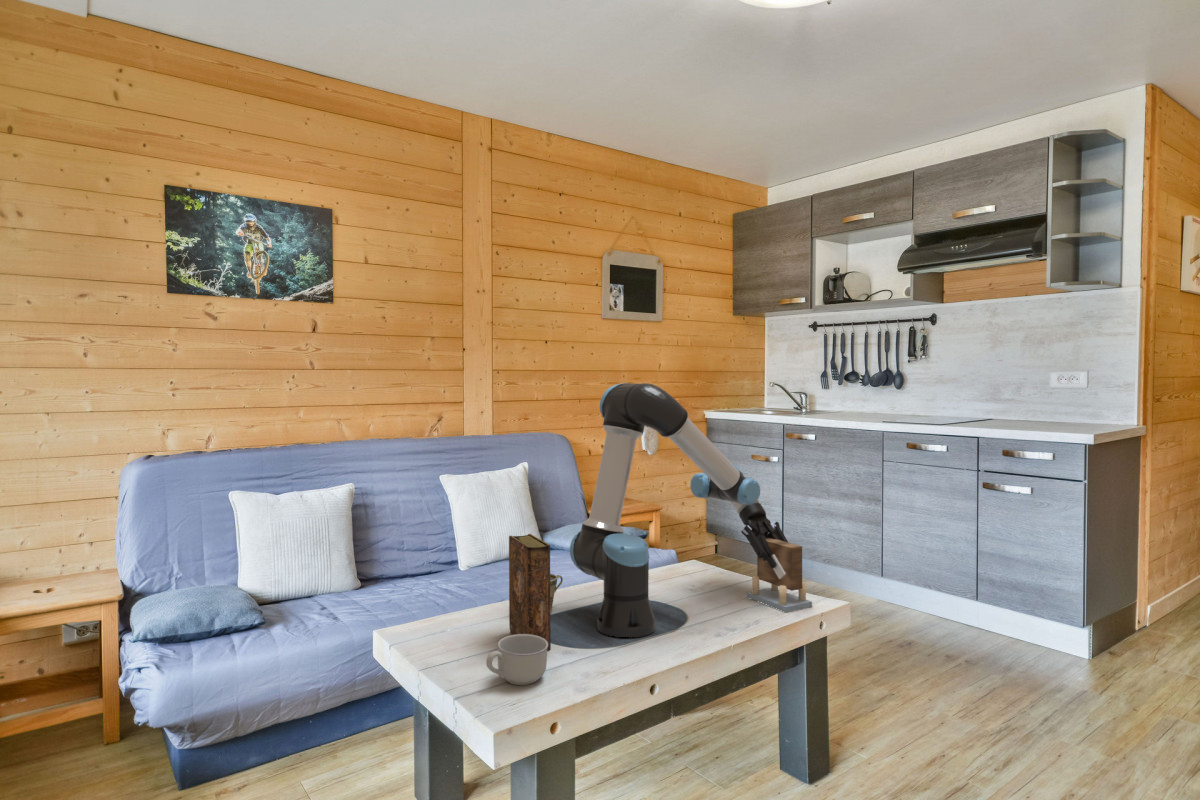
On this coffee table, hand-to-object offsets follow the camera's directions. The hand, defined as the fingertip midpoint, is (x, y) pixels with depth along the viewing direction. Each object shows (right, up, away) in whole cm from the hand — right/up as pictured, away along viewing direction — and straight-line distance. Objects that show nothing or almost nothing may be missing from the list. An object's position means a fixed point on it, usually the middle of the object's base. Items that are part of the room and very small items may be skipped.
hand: (788, 575), depth 197 cm
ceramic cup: (-69, -9, -5) cm, 70 cm away
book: (-71, -10, -27) cm, 77 cm away
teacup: (-72, -10, -50) cm, 88 cm away
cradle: (-2, -9, +3) cm, 9 cm away
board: (-2, -3, +3) cm, 5 cm away
